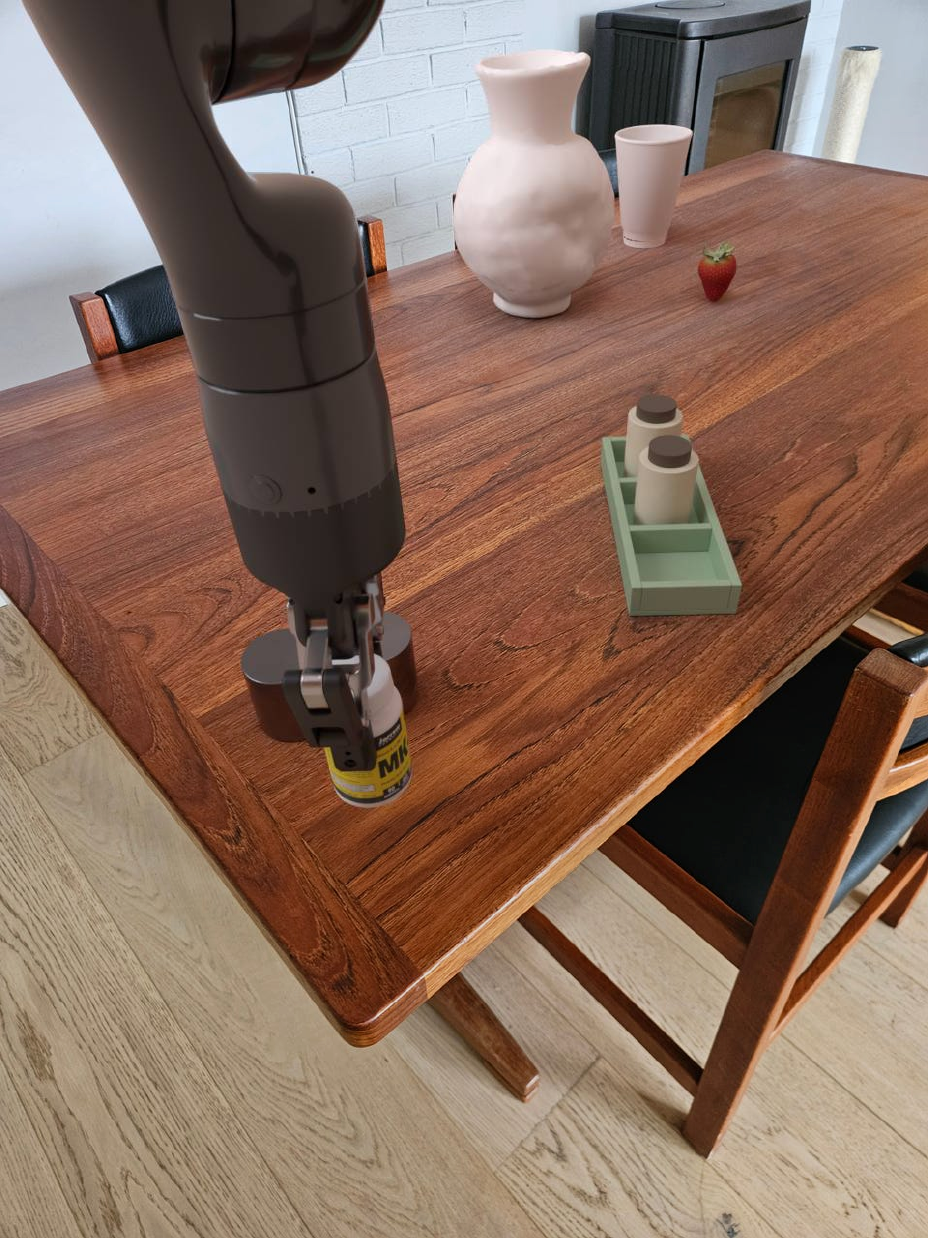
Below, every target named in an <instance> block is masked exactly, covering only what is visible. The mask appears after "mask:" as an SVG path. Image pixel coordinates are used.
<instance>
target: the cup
mask: <svg viewBox="0 0 928 1238" xmlns="http://www.w3.org/2000/svg"><path fill="white" fill-rule="evenodd" d="M693 134H694V132H693V130H692V129H690V128H688V127H685V126H682V125H681V126H680V125H672V124H643V125H635V126H630V127H625V128H622V129H620V130H617V131H616V132H615V134H614V140H615V155H616V169H617V185H618V186H617V187H618V200H619V215H620V227H621V228H622V234H623V235H622V236H623V237H622V238H623V239H622V240H623V244H624V245H625V246H626V247H627V246H628V247H630V248H634V249H654V248H658V247H662V246H663V245H665V244H666V242H667V235H668V232H669V228H670V227H671V226H672V222H673V218H674V214H675V210H676V205H677V201H678V197H679V193H680V192H679V191H680V187H681V184H682V179H683V175H684V171H685V167H686V162H687V158H688V153H689V149H690V145H691V141H692V137H693ZM624 236H625V237H626V238H629V239H632V240H637V241H638V240H639V241H651V240H658V239H661V238H664V237H665V236H666V238H664V239H662V240H659V241H654V242H635V241H630V240H627V239H626V238H624Z"/></svg>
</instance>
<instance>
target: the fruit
mask: <svg viewBox="0 0 928 1238" xmlns="http://www.w3.org/2000/svg"><path fill="white" fill-rule="evenodd" d="M728 245H729V241H728V240H725V242H724V243H723V244H722V243H719V246H718V247H717V249H716V250H715V251H712V250H711V249H710V248H709V247H708V246H707V243H705V245H704V246H705V247H703V249H702V256H703V258H702V259H701V260H700V262H699V263H698V266H697V274H698V277H699V280H700V282H701V285H702V290H703V292H704V294H705V296H706V299H707V300H708V301H709V302H713V303H716V302H718V301H720V300H722V298H723V296H724V295H725V294H726V293H727V290H728V289H729V287H730V285H731V283H732V280H733V279H734V278H735V275H736V273H737V268H738V267H737V265H738V264H737V260H736V257H735V255H733V252H734V251H733V250H734V249H735V248H736V247H735V246H736V245H733V246H732V247H729V248H728ZM705 250H706V251H707V252H705Z"/></svg>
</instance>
